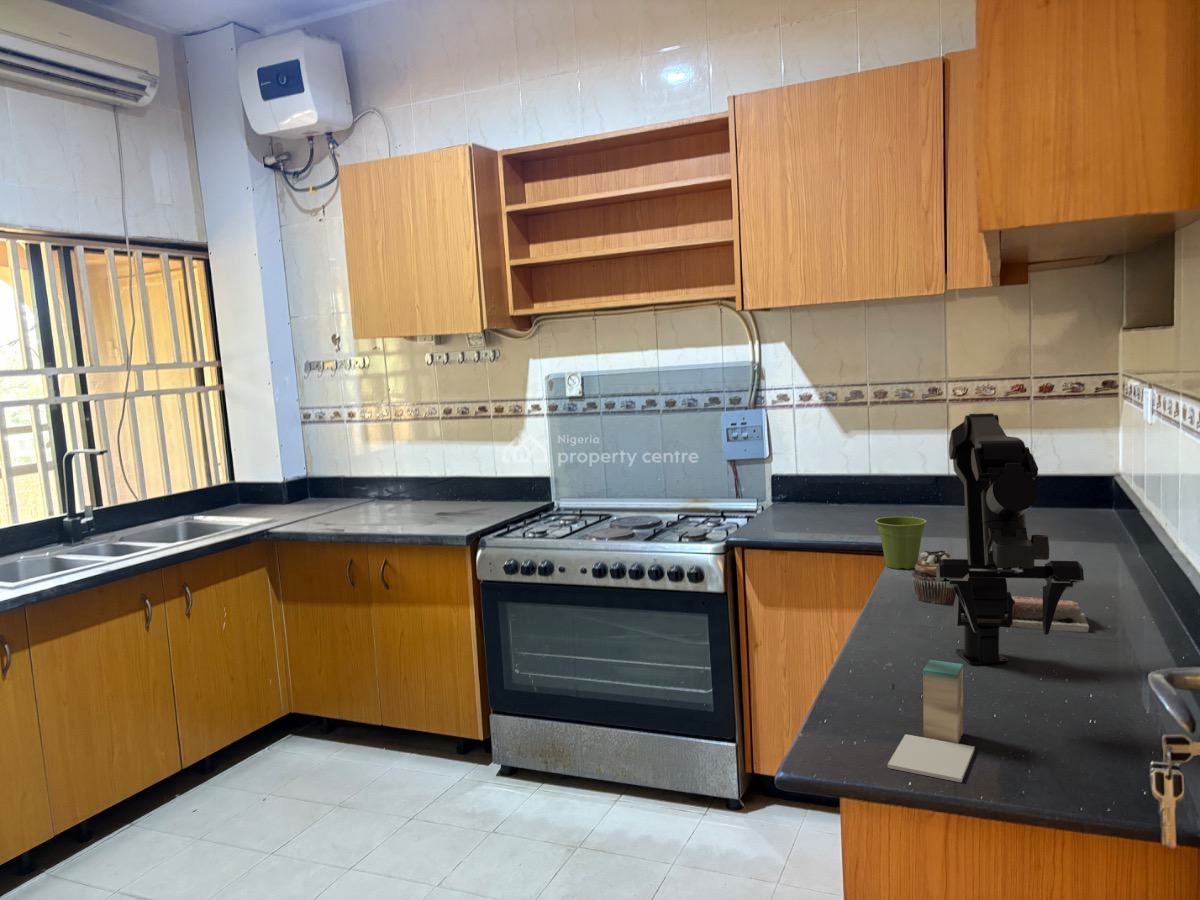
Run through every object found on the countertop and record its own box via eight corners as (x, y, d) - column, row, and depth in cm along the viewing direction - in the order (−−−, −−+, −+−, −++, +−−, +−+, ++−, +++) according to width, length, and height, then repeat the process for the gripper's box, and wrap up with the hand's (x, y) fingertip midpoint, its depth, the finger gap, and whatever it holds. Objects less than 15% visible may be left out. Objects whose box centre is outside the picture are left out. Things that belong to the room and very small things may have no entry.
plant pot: (933, 563, 218) (932, 517, 217) (918, 574, 209) (918, 527, 208) (884, 558, 225) (884, 514, 224) (868, 568, 216) (867, 523, 215)
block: (930, 727, 128) (929, 659, 127) (963, 733, 125) (962, 664, 124) (923, 739, 124) (923, 669, 123) (957, 745, 122) (957, 674, 120)
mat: (905, 737, 125) (905, 734, 125) (974, 750, 120) (974, 746, 120) (887, 767, 116) (887, 764, 116) (961, 782, 112) (961, 778, 112)
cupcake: (903, 594, 194) (903, 548, 193) (946, 591, 195) (946, 545, 193) (924, 606, 184) (923, 558, 183) (969, 603, 185) (969, 555, 184)
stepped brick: (982, 602, 170) (983, 589, 180) (982, 627, 171) (983, 612, 180) (1090, 609, 163) (1085, 595, 172) (1089, 635, 164) (1084, 619, 173)
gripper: (941, 513, 125) (946, 627, 121) (1089, 514, 120) (1099, 632, 116) (933, 526, 135) (938, 632, 132) (1069, 527, 131) (1078, 637, 127)
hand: (1010, 633), depth 126 cm, fingers open, 9 cm apart
